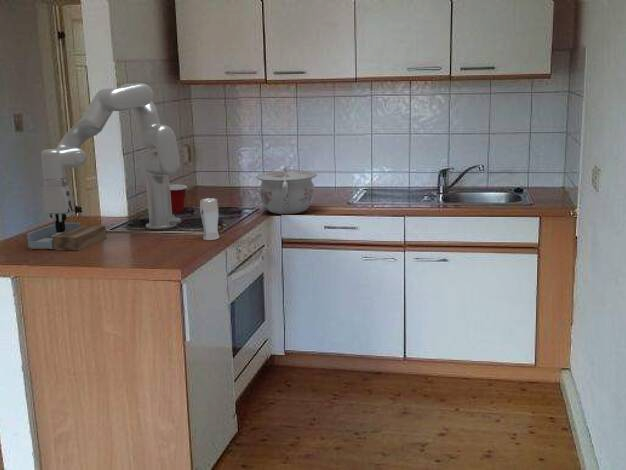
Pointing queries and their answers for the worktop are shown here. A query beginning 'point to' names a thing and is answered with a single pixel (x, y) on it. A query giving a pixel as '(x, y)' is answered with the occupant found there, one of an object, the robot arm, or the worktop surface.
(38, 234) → the box
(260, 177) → the chamber pot
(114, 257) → the worktop surface
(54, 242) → the tan slab
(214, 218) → the beer glass
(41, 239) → the tile
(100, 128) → the robot arm
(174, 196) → the plastic cup
